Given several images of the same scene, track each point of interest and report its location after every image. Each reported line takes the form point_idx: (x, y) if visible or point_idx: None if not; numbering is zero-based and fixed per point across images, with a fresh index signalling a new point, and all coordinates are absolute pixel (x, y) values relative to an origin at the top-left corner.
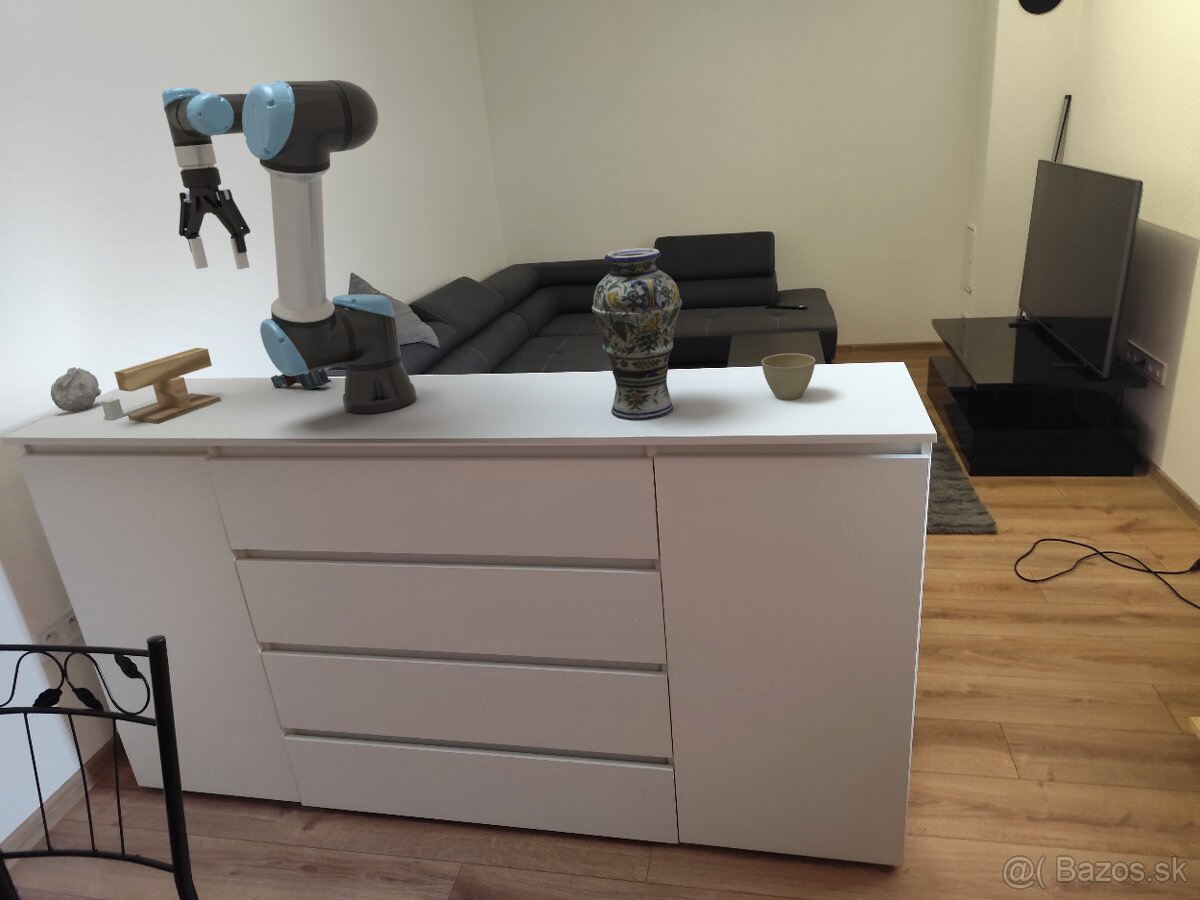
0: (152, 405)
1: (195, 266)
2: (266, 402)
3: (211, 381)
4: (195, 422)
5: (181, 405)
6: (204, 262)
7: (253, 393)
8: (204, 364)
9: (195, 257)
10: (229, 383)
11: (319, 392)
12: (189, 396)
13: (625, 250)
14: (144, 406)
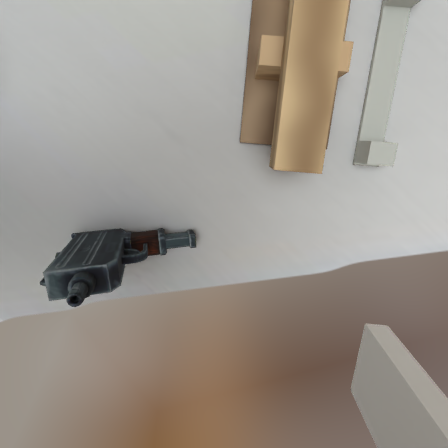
0: (368, 80)
1: (392, 334)
2: (135, 152)
3: (370, 245)
4: (177, 14)
5: (257, 54)
6: (368, 399)
7: (210, 194)
8: (272, 147)
9: (405, 382)
10: (317, 240)
11: (83, 221)
12: None
13: None
14: (373, 60)
